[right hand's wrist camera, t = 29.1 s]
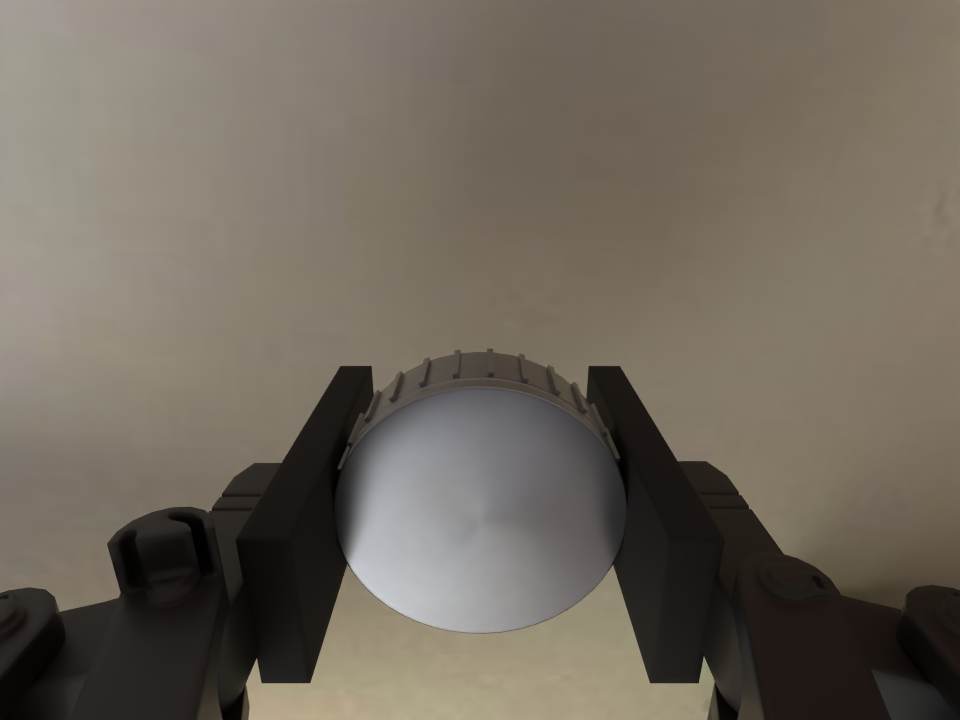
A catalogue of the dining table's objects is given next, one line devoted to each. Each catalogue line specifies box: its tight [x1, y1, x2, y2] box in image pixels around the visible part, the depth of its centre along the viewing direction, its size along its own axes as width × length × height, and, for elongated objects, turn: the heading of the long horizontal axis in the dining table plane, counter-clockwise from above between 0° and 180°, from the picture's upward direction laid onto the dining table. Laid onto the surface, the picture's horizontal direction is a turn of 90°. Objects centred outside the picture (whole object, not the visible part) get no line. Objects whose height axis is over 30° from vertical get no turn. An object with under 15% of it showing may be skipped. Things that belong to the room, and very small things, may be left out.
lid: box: [333, 349, 628, 634], centre depth 11 cm, size 6×6×2 cm
